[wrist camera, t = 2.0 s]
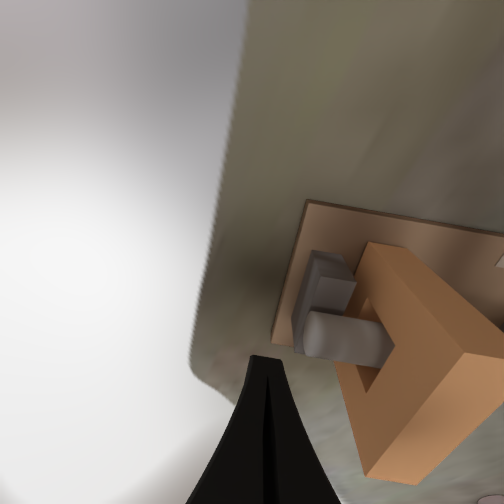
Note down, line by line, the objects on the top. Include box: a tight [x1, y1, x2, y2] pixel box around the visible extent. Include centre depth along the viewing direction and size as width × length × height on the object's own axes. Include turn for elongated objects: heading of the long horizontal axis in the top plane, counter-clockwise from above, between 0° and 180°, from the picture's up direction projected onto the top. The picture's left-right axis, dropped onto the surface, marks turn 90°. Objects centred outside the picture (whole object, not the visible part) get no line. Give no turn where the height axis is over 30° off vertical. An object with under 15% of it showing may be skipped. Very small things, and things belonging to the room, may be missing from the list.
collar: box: [334, 242, 504, 485], centre depth 14 cm, size 2×9×9 cm, turn 171°
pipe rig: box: [271, 199, 504, 369], centre depth 15 cm, size 19×12×7 cm, turn 81°
